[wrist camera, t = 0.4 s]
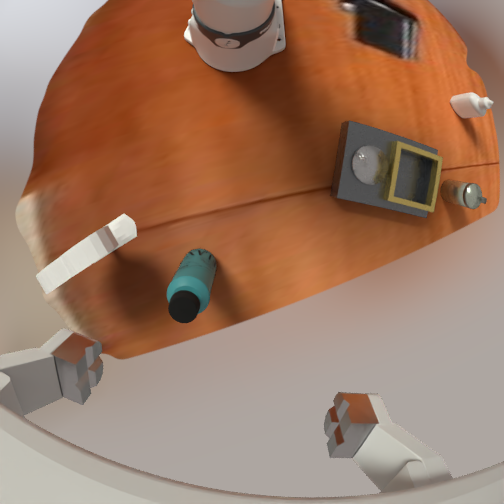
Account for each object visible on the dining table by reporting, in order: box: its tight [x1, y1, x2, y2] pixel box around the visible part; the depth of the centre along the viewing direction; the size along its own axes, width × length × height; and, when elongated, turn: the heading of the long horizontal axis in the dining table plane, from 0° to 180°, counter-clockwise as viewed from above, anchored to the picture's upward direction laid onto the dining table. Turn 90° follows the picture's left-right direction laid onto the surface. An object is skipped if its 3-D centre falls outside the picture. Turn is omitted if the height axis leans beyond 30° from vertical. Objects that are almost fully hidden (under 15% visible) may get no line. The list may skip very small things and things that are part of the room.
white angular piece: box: [36, 214, 137, 294], centre depth 46 cm, size 16×5×18 cm, turn 117°
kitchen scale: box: [330, 121, 443, 218], centre depth 50 cm, size 20×14×6 cm
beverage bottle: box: [167, 249, 217, 323], centre depth 47 cm, size 6×7×20 cm
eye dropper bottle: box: [450, 92, 493, 118], centre depth 43 cm, size 4×6×12 cm
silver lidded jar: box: [441, 180, 487, 209], centre depth 50 cm, size 5×7×9 cm
